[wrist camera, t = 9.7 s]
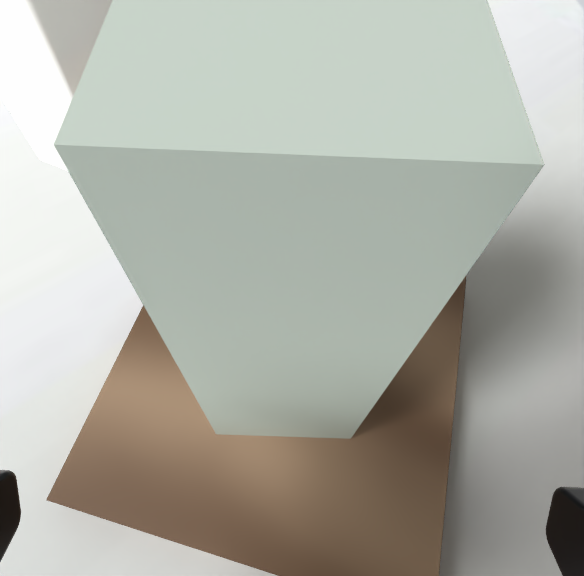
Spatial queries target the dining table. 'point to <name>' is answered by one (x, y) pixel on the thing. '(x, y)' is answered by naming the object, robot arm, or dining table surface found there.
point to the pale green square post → (297, 187)
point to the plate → (273, 468)
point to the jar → (45, 63)
